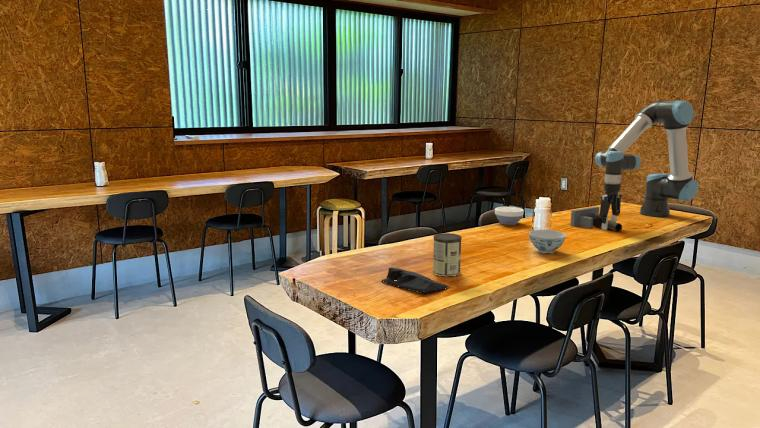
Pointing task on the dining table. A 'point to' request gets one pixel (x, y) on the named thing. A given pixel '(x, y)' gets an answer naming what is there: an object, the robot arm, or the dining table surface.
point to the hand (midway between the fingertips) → (608, 228)
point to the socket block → (584, 216)
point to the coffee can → (447, 254)
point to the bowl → (509, 215)
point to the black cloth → (412, 281)
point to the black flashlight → (611, 225)
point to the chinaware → (547, 240)
